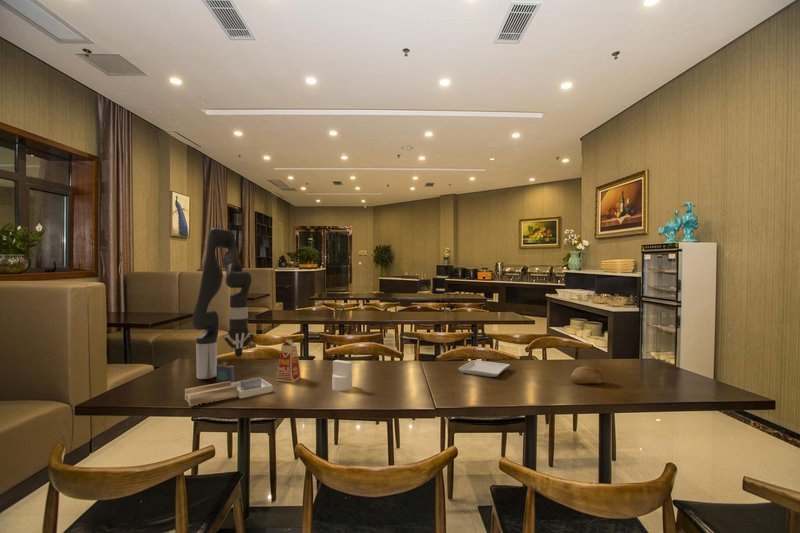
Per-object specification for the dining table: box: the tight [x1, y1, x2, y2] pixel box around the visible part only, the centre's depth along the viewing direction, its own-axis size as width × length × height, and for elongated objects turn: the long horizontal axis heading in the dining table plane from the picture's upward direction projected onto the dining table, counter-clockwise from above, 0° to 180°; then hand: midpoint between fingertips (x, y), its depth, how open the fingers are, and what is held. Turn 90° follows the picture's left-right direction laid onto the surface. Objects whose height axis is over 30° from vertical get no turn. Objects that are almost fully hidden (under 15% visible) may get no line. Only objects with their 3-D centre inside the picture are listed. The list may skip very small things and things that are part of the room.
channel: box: [184, 381, 238, 407], centre depth 170 cm, size 10×18×4 cm, turn 129°
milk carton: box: [275, 338, 301, 383], centre depth 198 cm, size 9×9×20 cm
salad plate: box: [458, 359, 511, 378], centre depth 210 cm, size 21×21×3 cm
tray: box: [231, 378, 274, 399], centre depth 180 cm, size 16×14×3 cm
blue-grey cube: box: [249, 376, 262, 389], centre depth 182 cm, size 4×4×4 cm
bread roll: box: [570, 365, 605, 385], centre depth 189 cm, size 10×15×8 cm, turn 89°
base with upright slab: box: [331, 359, 353, 392], centre depth 184 cm, size 9×9×12 cm
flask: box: [215, 361, 235, 384], centre depth 188 cm, size 9×3×11 cm, turn 74°
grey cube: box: [240, 378, 253, 391], centre depth 179 cm, size 4×4×4 cm
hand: (238, 356), depth 177 cm, fingers closed
